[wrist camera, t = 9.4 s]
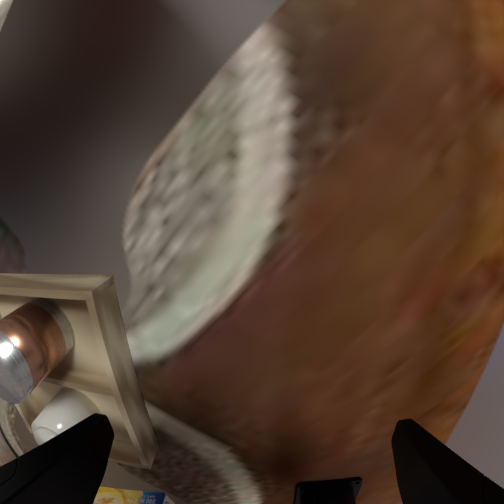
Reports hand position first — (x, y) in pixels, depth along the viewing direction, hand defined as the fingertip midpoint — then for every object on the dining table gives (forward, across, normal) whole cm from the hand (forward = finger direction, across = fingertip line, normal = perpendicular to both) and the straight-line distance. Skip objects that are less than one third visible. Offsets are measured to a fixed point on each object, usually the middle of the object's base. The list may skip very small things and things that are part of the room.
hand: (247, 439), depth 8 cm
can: (+11, +17, +3) cm, 21 cm away
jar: (+11, +17, +12) cm, 24 cm away
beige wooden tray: (+12, +17, +8) cm, 22 cm away
